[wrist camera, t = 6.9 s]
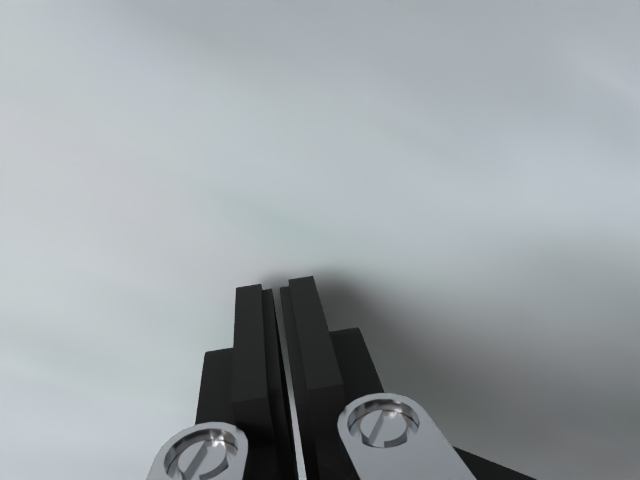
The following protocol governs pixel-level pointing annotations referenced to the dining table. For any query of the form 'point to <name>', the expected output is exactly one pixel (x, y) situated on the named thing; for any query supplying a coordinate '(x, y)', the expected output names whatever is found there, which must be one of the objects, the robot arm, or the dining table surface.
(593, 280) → the dining table surface
